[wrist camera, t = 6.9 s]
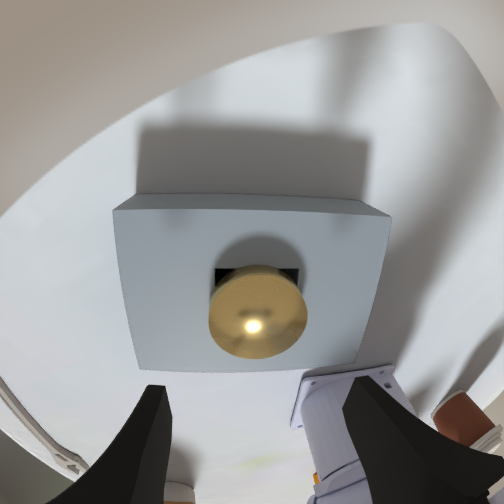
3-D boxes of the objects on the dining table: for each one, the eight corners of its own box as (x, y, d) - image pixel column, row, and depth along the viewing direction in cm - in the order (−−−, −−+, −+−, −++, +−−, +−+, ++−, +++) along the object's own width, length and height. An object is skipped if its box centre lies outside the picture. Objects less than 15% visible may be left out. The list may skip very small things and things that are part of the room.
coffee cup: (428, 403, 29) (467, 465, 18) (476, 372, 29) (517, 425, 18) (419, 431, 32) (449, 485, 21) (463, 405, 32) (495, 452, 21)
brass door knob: (290, 240, 18) (316, 280, 13) (279, 305, 20) (297, 358, 15) (213, 235, 17) (210, 275, 12) (209, 303, 19) (207, 358, 14)
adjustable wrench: (-20, 354, 20) (-27, 363, 18) (8, 359, 21) (1, 369, 19) (67, 464, 29) (65, 471, 28) (97, 470, 30) (96, 479, 28)
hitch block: (360, 200, 17) (392, 217, 14) (335, 329, 21) (354, 362, 17) (135, 194, 16) (112, 210, 12) (150, 331, 20) (139, 369, 16)
